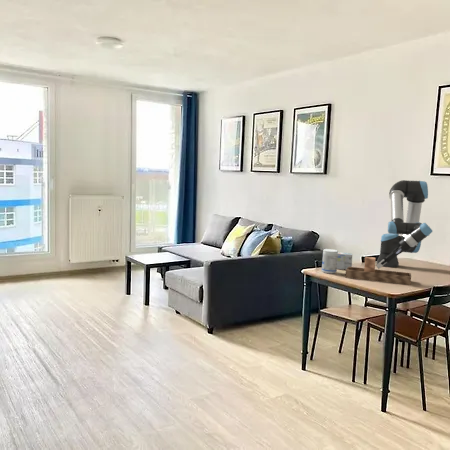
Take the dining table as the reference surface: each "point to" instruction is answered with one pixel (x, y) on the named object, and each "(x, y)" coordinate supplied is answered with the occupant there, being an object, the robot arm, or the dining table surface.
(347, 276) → the box
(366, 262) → the block
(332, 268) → the supplement tub
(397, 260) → the robot arm
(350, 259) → the light bulb box
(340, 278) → the dining table surface
